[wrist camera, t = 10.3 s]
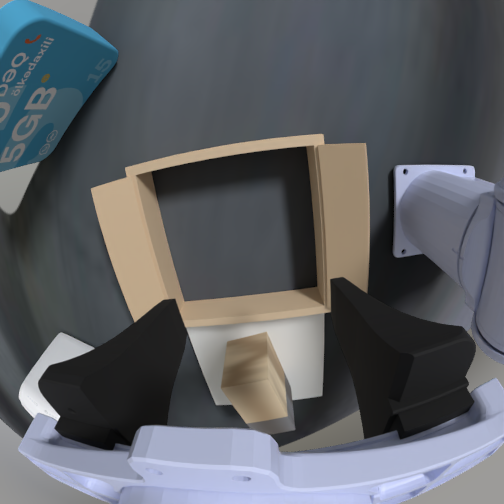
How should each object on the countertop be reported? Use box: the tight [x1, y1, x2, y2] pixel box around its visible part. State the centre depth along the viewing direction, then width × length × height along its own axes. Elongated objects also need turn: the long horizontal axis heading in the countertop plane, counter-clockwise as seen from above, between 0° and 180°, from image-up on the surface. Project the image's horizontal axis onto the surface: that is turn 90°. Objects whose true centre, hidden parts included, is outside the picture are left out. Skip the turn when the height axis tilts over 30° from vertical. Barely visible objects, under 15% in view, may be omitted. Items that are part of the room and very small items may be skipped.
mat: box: [186, 313, 324, 405], centre depth 27 cm, size 13×13×1 cm
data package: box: [0, 0, 118, 172], centre depth 12 cm, size 12×4×12 cm, turn 132°
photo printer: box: [19, 333, 95, 421], centre depth 23 cm, size 10×4×12 cm, turn 69°
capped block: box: [221, 332, 295, 435], centre depth 24 cm, size 4×9×6 cm, turn 20°
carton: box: [91, 134, 370, 327], centre depth 20 cm, size 18×13×5 cm
